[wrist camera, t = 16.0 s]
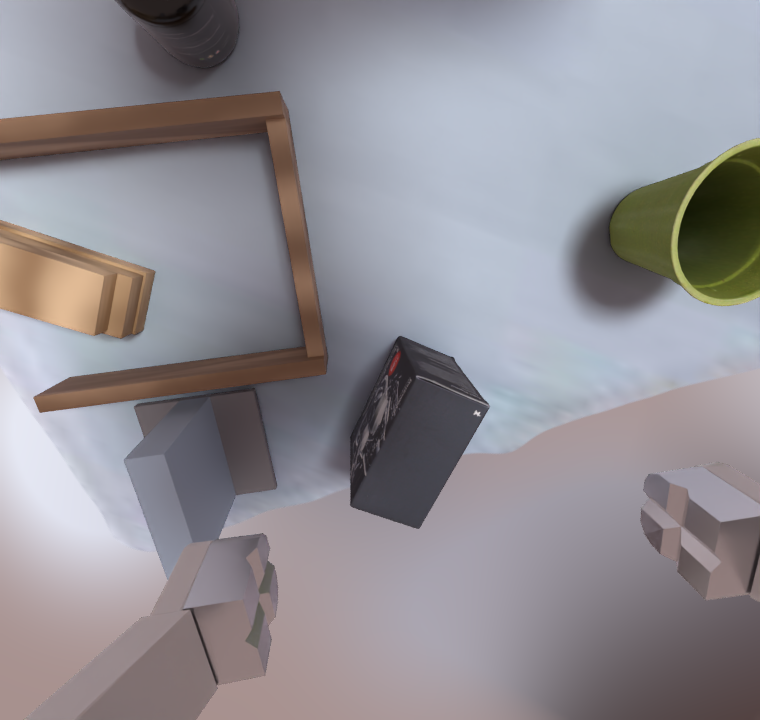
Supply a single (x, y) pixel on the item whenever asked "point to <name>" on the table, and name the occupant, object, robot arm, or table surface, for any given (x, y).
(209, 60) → the supplement bottle
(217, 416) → the charcoal mat
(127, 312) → the offcut stack
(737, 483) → the robot arm
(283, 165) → the walnut rack
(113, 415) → the table surface
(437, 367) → the small box
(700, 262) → the plant pot
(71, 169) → the table surface
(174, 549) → the gray block
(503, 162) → the table surface
